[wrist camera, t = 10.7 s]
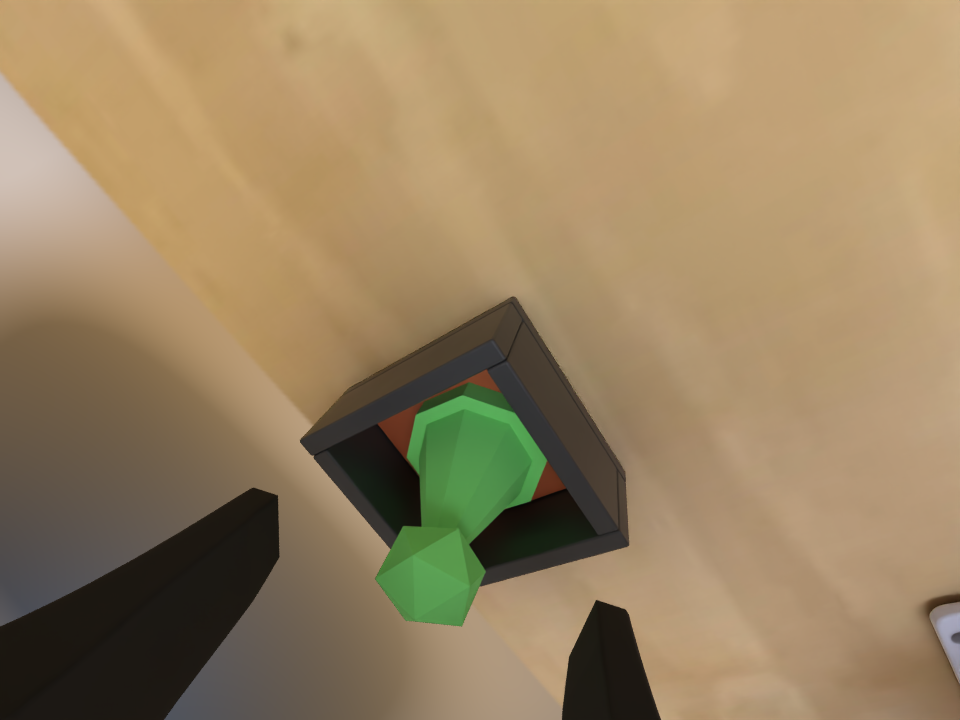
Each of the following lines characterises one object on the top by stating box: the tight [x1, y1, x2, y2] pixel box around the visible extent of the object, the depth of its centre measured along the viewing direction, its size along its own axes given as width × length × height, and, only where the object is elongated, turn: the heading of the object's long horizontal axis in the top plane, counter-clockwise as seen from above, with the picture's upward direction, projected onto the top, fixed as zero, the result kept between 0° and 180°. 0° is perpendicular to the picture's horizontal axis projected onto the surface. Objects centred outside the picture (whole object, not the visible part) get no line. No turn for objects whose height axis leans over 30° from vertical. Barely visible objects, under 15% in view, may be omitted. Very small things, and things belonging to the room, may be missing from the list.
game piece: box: [375, 382, 547, 626], centre depth 12 cm, size 4×4×6 cm
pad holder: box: [300, 297, 629, 587], centre depth 14 cm, size 7×7×3 cm
